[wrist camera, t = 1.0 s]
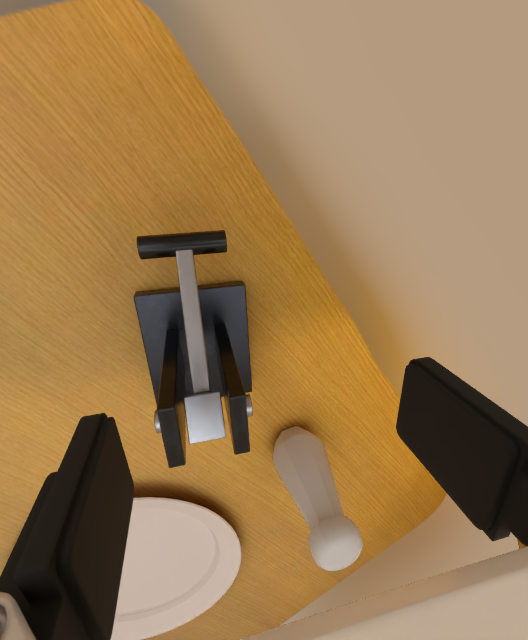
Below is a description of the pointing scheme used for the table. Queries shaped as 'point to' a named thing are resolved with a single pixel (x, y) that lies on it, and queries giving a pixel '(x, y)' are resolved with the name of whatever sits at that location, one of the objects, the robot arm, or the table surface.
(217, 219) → the table surface
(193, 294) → the lever
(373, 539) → the table surface
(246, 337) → the bracket
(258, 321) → the table surface
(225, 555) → the plate
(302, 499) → the salt shaker
